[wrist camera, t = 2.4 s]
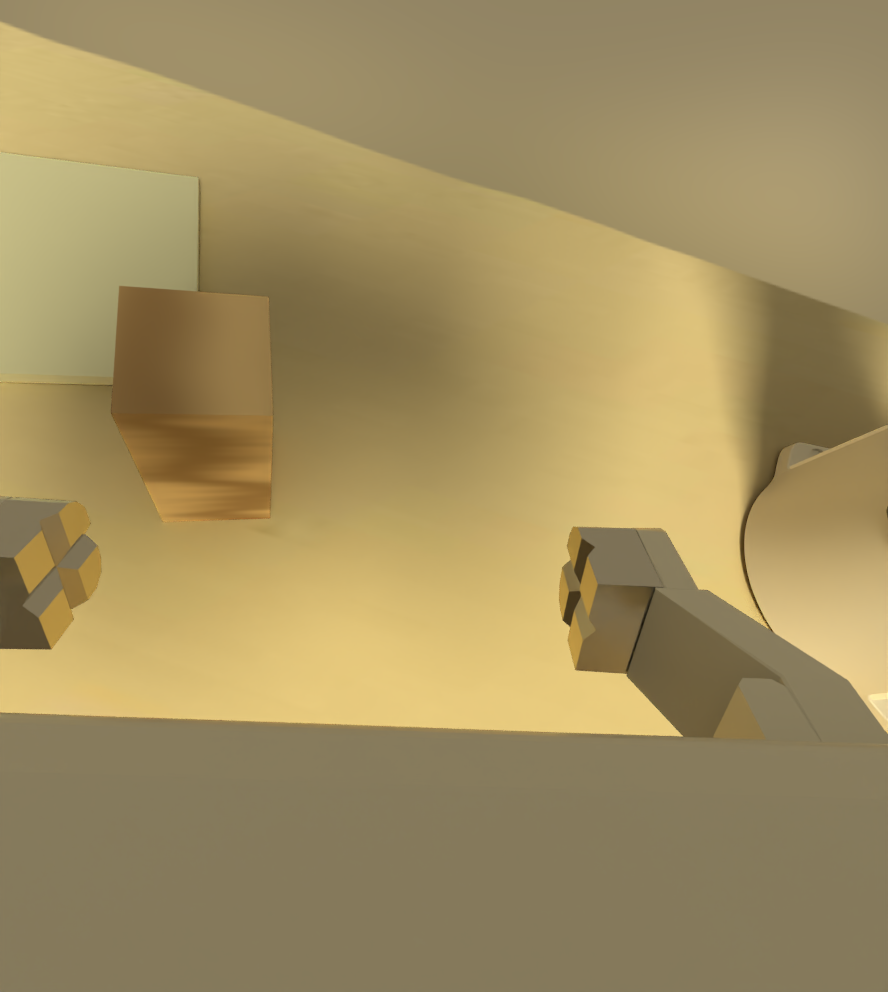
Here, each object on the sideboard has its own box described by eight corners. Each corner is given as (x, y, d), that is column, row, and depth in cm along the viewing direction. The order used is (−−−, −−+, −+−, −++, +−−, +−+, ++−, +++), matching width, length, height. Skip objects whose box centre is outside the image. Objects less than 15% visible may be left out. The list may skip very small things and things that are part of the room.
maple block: (267, 430, 32) (268, 296, 22) (270, 518, 30) (273, 415, 21) (165, 429, 31) (119, 285, 21) (162, 521, 29) (110, 413, 19)
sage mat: (199, 188, 36) (198, 177, 36) (197, 387, 32) (195, 379, 31) (-79, 154, 32) (-87, 141, 32) (-128, 378, 28) (-139, 369, 27)
